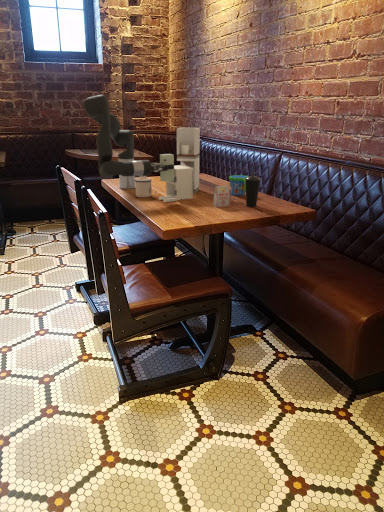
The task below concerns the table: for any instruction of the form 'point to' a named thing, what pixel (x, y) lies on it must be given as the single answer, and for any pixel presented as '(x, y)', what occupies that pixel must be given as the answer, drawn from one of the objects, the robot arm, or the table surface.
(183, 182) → the cabinet
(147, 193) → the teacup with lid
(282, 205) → the table surface
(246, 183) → the drinking cup
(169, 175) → the door
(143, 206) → the table surface
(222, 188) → the white milk carton
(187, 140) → the display case
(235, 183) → the snack cup
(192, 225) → the table surface
